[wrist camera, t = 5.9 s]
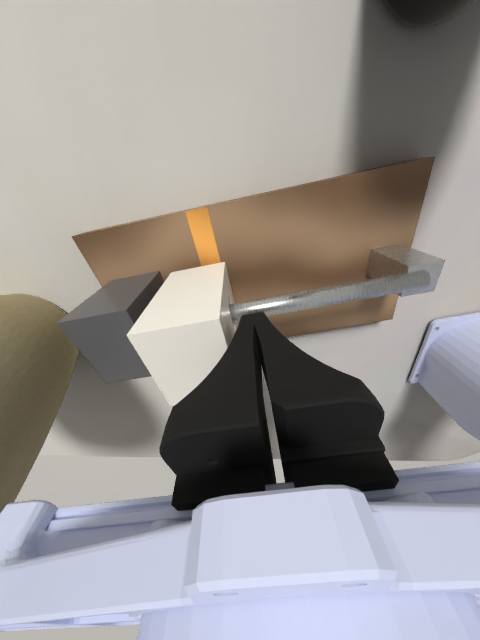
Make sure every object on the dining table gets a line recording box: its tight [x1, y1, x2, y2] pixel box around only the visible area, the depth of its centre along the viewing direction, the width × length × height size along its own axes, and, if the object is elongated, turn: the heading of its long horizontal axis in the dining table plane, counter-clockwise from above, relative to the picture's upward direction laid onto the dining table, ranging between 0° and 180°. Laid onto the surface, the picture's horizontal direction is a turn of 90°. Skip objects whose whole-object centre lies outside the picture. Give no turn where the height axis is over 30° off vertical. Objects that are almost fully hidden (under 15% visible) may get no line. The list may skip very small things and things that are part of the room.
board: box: [72, 157, 435, 337], centre depth 17 cm, size 12×24×2 cm, turn 101°
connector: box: [57, 271, 164, 383], centre depth 15 cm, size 5×4×6 cm
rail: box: [229, 244, 445, 322], centre depth 15 cm, size 2×20×5 cm, turn 101°
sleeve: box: [127, 262, 239, 406], centre depth 13 cm, size 5×4×8 cm
